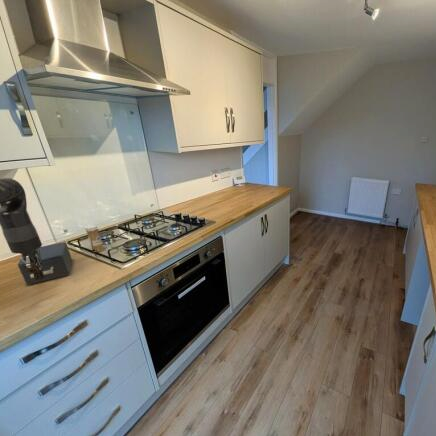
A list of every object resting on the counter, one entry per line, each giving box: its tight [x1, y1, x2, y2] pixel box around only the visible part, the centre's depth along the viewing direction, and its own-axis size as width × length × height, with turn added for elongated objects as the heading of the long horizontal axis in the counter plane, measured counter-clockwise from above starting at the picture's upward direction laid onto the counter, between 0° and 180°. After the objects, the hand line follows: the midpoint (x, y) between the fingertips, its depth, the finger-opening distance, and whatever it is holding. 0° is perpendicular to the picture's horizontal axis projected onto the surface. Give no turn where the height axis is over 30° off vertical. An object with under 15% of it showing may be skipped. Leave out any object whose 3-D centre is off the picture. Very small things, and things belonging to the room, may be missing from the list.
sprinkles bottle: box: [84, 224, 104, 253], centre depth 118 cm, size 5×5×13 cm
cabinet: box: [17, 241, 73, 286], centre depth 100 cm, size 15×13×10 cm
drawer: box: [19, 257, 68, 285], centre depth 98 cm, size 18×11×8 cm, turn 37°
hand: (40, 278), depth 88 cm, fingers closed
